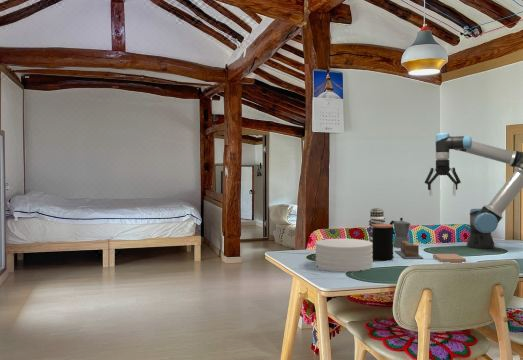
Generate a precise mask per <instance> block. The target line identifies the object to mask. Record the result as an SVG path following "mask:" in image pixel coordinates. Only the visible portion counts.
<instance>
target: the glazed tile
mask: <svg viewBox="0 0 523 360" xmlns="http://www.w3.org/2000/svg"><path fill="white" fill-rule="evenodd" d="M432 259H434V260H436V261H437V260H438V261H437V262H439V263H440V262H450V263H449V264H463V263H462V262H466V263H467V259H466V258H465V257H463V256H461V255H459V254H457V253H433V254H432Z"/></svg>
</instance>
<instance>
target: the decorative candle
mask: <svg viewBox="0 0 523 360" xmlns="http://www.w3.org/2000/svg"><path fill="white" fill-rule="evenodd" d="M369 212H370V216H369V219H370V220H369V221H368V222H369V223H368V225H369V232H370V237H369V242H372V243H373V238H372V230H373V226H372V225H374V224H384V223H386V218H385V215H384V214H385V211H384V210H383V209H382V208H378V207H377V208H375V207H373V208H371V210H370V211H369ZM372 249H373V246H372Z"/></svg>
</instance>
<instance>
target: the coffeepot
mask: <svg viewBox="0 0 523 360" xmlns="http://www.w3.org/2000/svg"><path fill="white" fill-rule="evenodd" d="M399 219H400V220H398V221H396V220H391V221H390V223H389V224H390V225H393V227H392V229H393V235H395V237H394V240H393V248H395V249H396V248H397V249H401V241H408V242H410V241H409V237H408V234H409V229H410V227H411V223H410V222H408V221H404V220H403V217H400V218H399Z"/></svg>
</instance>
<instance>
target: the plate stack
mask: <svg viewBox="0 0 523 360" xmlns="http://www.w3.org/2000/svg"><path fill="white" fill-rule="evenodd" d="M372 246H373V243H372V242H371V241H370V240H365V239H357V238H326V239H320V240H317V241H315V267H317V266H318V267H317V268H319V267H320V268H319V269H322V268H323V269H322V270H326V269H327V270H328V271H334V272H358V271H359V272H360V270H362V271H367V270H369V269H372V268H373V266H374V265H373V263H374V262H373V259H374V258H373V253H372V251H373V249H372ZM366 269H367V270H366Z"/></svg>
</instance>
